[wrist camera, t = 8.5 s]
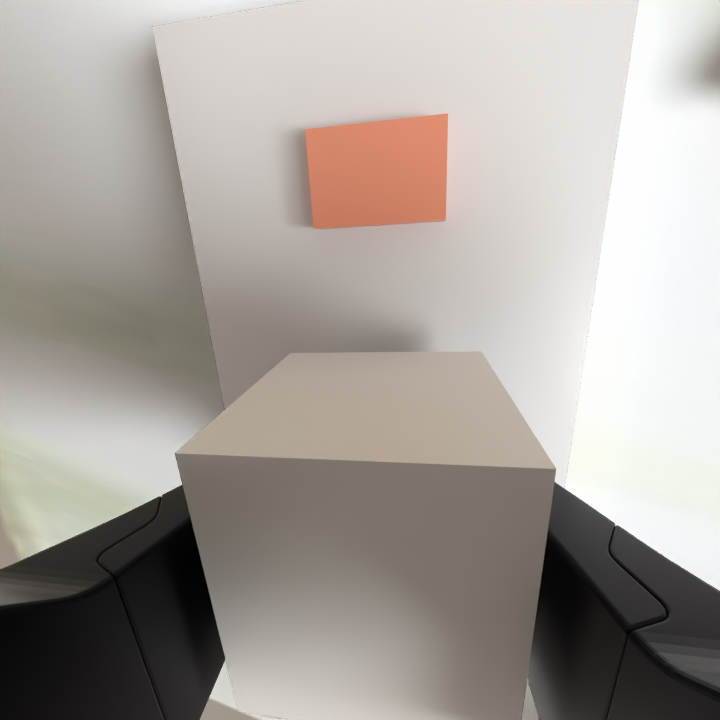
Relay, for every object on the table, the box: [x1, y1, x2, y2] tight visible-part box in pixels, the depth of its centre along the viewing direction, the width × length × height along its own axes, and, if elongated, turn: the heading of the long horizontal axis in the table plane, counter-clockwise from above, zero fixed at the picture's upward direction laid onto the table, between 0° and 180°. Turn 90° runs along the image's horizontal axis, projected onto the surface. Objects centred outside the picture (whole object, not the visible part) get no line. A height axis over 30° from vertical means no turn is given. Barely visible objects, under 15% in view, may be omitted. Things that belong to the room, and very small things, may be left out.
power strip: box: [152, 0, 639, 681], centre depth 11 cm, size 20×10×3 cm, turn 3°
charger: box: [175, 351, 556, 720], centre depth 8 cm, size 5×5×6 cm
